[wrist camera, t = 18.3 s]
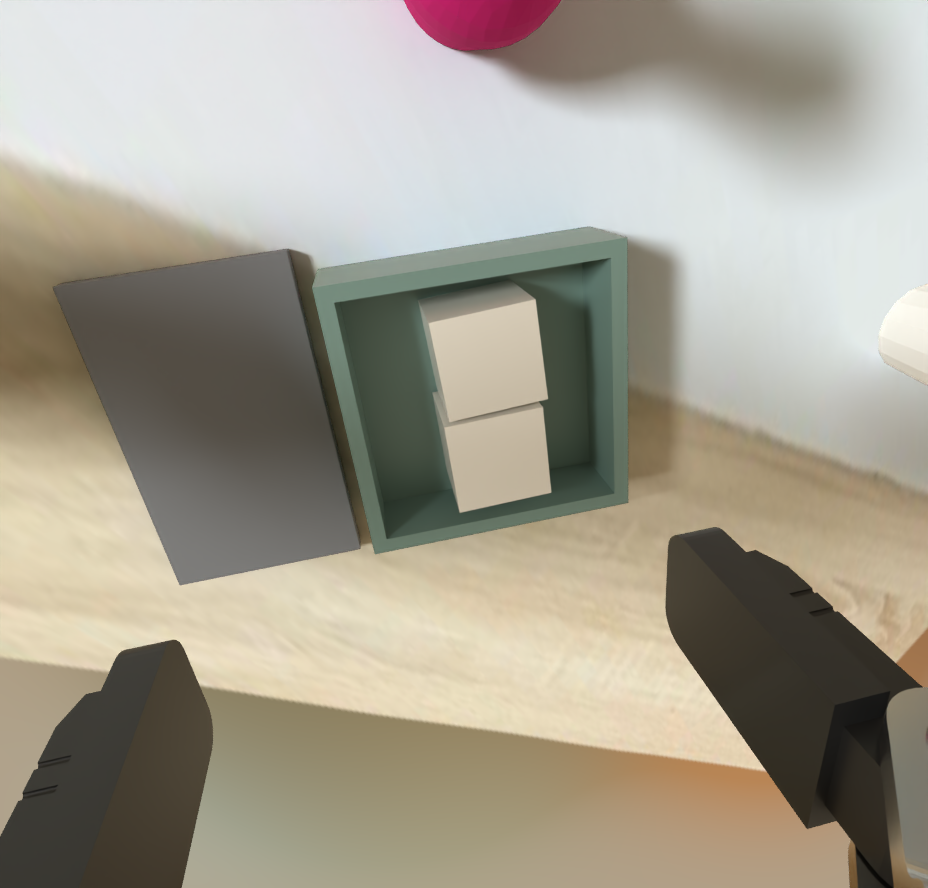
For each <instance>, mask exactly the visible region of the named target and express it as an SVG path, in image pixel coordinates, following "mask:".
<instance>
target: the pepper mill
mask: <svg viewBox="0 0 928 888" xmlns="http://www.w3.org/2000/svg"><path fill="white" fill-rule="evenodd" d="M404 1H405V4H406V6H407V8H408V10H409V11H410V13H411V14H412V16H413V18H414V19H415V21H416V22H417V24H418V25H419V26H420V27H421V28H422V29H423V30H424V31H425V32H426V33H427V34H428V35H429V36H430V37H432V38H433V39H434V40H436V41H437V42H439V43H441V44H443V45H445V46H447V47H450V48H453V49H458V50H463V51H464V50H479V49H496V48H501V47H505V46H510V45H512V44H514V43H516V42H518V41H520V40H522V39H524V38H526V37H527V36H528V35H530V34H531V33H532V32H533V31H535V30H536V29H537V28H539V27H540V26H541V24H542V23H543V22H544V21H545V20H546V19H547V18H548V16H549V15H550V14H551V13H552V12H553V11H554V9H555V8H556V7H557V6H558V4H559V3H560V1H561V0H404Z"/></svg>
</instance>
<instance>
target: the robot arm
mask: <svg viewBox="0 0 928 888" xmlns="http://www.w3.org/2000/svg"><path fill="white" fill-rule="evenodd" d="M666 616H667V620H668V624H669V627H670V630H671V633H672V635H673V637H674V639H675V641H676V643H677V644H678V646H679V647H680V649H681V650H682V652H683V653H684V654H685V656H686V657H687V659H688V660H689V661H690V663H691V664H692V666H693V667H694V669H695V670H696V671H697V673H698V674H699V676H700V677H701V679H702V680H703V681H704V683H705V684H706V686H707V687H708V689H709V690H710V691H711V693H712V694H713V696H714V697H715V699H716V700H717V701H718V703H719V704H720V706H721V707H722V709H723V710H724V711H725V713H726V714H727V716H728V717H729V718H730V720H731V721H732V723H733V724H734V726H735V727H736V728H737V730H738V731H739V733H740V734H741V736H742V737H743V738H744V740H745V741H746V743H747V744H748V746H749V747H750V748H751V750H752V751H753V753H754V754H755V756H756V757H757V758H758V760H759V761H760V763H761V764H762V765H763V767H764V768H765V770H766V771H767V773H768V774H769V775H770V777H771V778H772V780H773V781H774V783H775V784H776V785H777V787H778V788H779V790H780V791H781V793H782V794H783V795H784V797H785V798H786V800H787V801H788V802H789V804H790V805H791V807H792V808H793V809H794V811H795V812H796V814H797V815H798V817H799V818H800V820H801V821H802V822H803V824H804V825H805V827H806V828H807V829H808V828H812V827H816V826H820V825H823V824H827V823H830V822H834V821H837V822H838V823H839V824H840V826H841V827H842V828H843V829H844V831H845V832H846V833H847V835H848V836H849V838H850V839H851V840H850V843H849V847H848V865H849V883H850V888H928V688H925V687H924V688H923V687H922V686H921V685H920V684H918V683H917V682H916V681H915V680H914V679H913V678H912V677H911V676H909V675H908V674H907V673H906V672H905V671H904V670H903V669H902V668H901V667H899V666H898V665H897V664H896V663H895V662H894V661H893V660H892V659H890V658H889V657H888V656H887V655H886V654H885V653H884V652H883V651H882V650H880V649H879V648H878V647H877V646H876V645H875V644H874V643H873V642H872V641H870V640H869V639H868V638H867V637H866V636H865V635H864V634H863V633H862V632H860V631H859V630H858V629H857V628H856V627H855V626H854V625H853V624H852V623H850V622H849V621H848V620H847V619H846V618H845V617H844V616H843V615H842V614H840V613H839V612H838V611H837V612H835V611H834V610H833V606H831V605H830V604H829V603H828V602H827V601H826V600H825V599H824V598H823V597H821V596H820V595H819V594H818V593H814V592H813V591H812V588H811V587H810V586H809V585H808V584H807V583H806V582H805V581H804V580H803V579H801V578H800V577H799V576H798V575H797V574H796V573H795V572H794V571H793V570H791V569H790V568H789V567H788V566H786V565H784V564H782V563H780V562H778V561H776V560H774V559H772V558H770V557H768V556H766V555H764V554H762V553H760V552H758V551H756V550H754V551H750V552H745V551H744V550H743V549H742V548H741V547H740V546H739V545H738V544H737V543H736V542H735V541H734V540H733V539H732V538H731V537H730V536H728V535H727V534H726V533H725V532H724V531H723V530H722V529H720V528H717V527H713V528H708V529H704V530H699V531H694V532H689V533H685V534H680V535H675V536H673V537H672V538H671V539H670V541H669V545H668V561H667V583H666ZM212 744H213V726H212V719H211V714H210V710H209V707H208V705H207V702H206V700H205V698H204V695H203V693H202V690H201V688H200V686H199V683H198V681H197V679H196V676H195V674H194V672H193V669H192V667H191V665H190V662H189V660H188V657H187V655H186V653H185V650H184V648H183V646H182V645H181V643H180V642H178V641H177V640H170V641H165V642H161V643H156V644H151V645H146V646H142V647H137V648H132V649H127V650H124V651H122V652H120V653H119V654H118V656H117V657H116V659H115V661H114V663H113V666H112V668H111V670H110V672H109V674H108V677H107V679H106V681H105V683H104V685H103V687H102V690H101V691H99V692H94V693H89V694H86V695H85V696H84V697H83V698H82V699H81V700H80V701H79V702H78V703H77V704H76V706H75V707H74V708H73V709H72V710H71V711H70V712H69V713H68V714H67V716H66V717H65V718H64V719H63V720H62V721H61V722H60V723H59V724H58V725H57V726H56V728H55V730H54V732H53V734H52V736H51V738H50V740H49V742H48V744H47V745H46V748H45V750H44V751H43V753H42V755H41V757H40V759H39V761H38V769H36V770H34V771H33V773H32V775H31V777H30V779H29V781H28V783H27V785H26V787H25V789H24V791H23V799H22V800H21V801H18V803H17V805H16V807H15V809H14V811H13V813H12V815H11V817H10V819H9V820H8V822H7V824H6V826H5V828H4V830H3V833H2V834H1V836H0V888H181V887H182V883H183V879H184V874H185V869H186V865H187V861H188V856H189V851H190V847H191V843H192V838H193V833H194V829H195V824H196V819H197V815H198V811H199V806H200V802H201V797H202V793H203V788H204V783H205V779H206V774H207V770H208V765H209V761H210V756H211V751H212Z"/></svg>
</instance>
